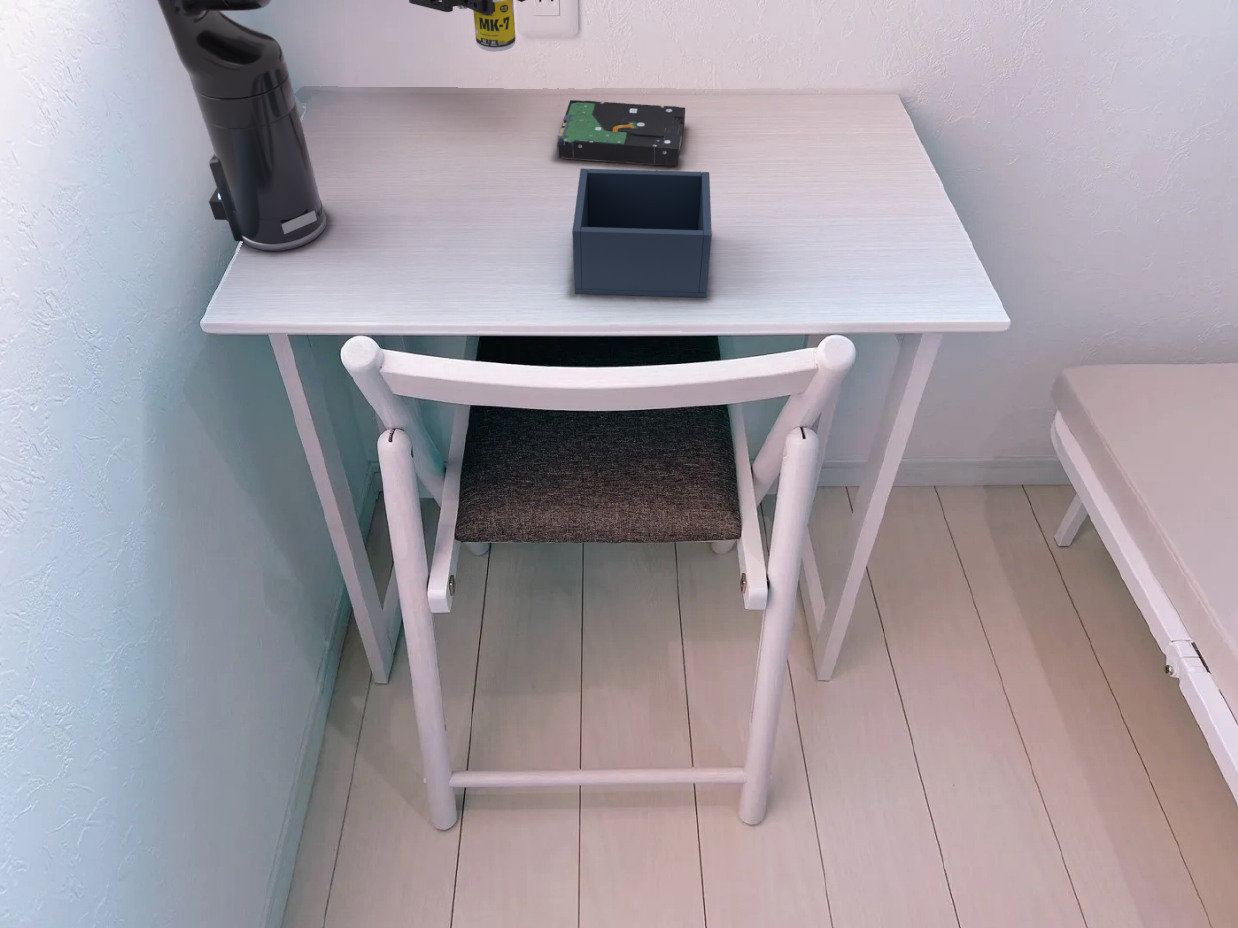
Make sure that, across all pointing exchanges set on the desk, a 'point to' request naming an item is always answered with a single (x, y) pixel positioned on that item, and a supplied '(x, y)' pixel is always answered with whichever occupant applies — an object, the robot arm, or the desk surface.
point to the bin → (642, 233)
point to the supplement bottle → (496, 27)
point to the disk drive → (622, 132)
